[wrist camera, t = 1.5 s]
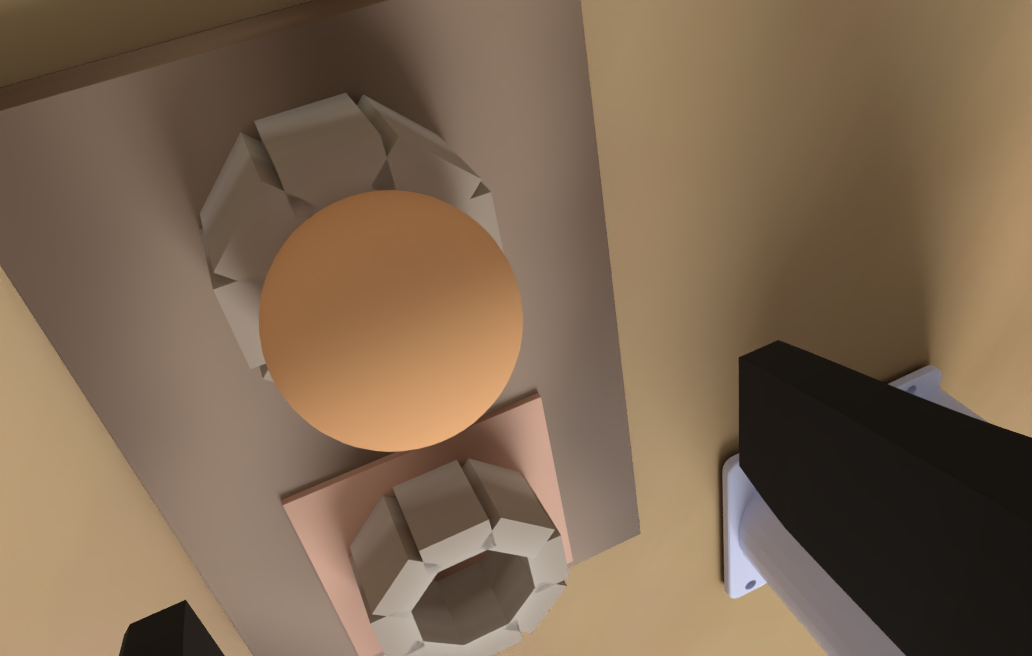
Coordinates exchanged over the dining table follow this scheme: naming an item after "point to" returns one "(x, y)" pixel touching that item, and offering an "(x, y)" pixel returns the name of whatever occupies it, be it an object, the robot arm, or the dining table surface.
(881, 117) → the dining table surface
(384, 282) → the ball
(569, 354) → the rack
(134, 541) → the dining table surface
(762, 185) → the dining table surface
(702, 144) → the dining table surface
